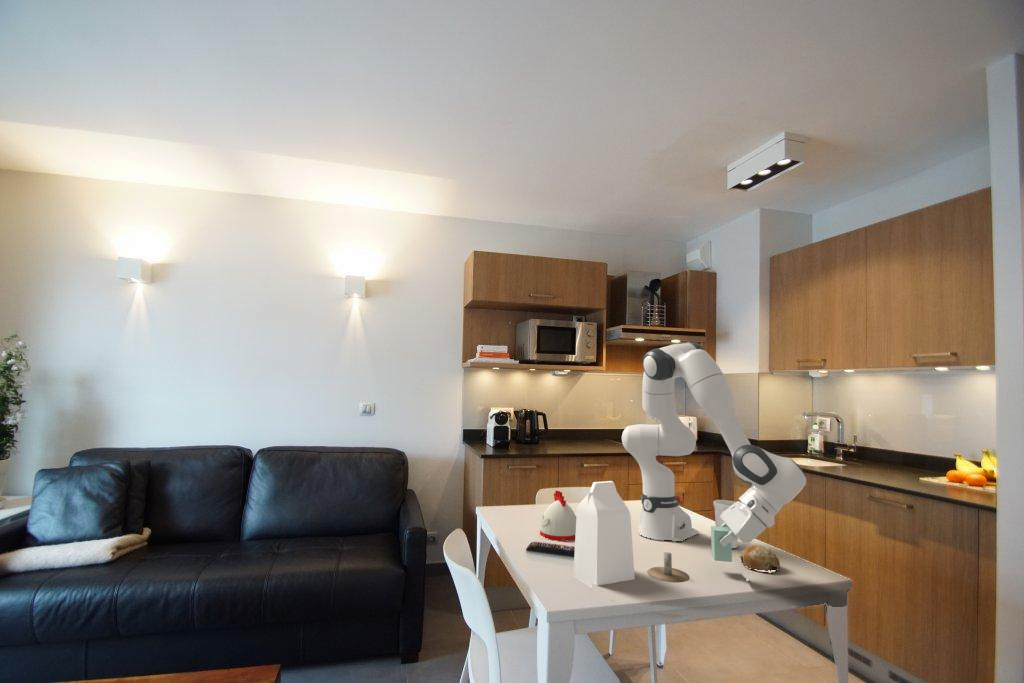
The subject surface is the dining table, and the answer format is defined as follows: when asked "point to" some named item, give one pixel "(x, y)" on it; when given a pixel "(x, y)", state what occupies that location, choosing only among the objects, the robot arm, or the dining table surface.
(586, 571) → the milk
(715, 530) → the mint rectangular pillar
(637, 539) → the dining table surface
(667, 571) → the post stand
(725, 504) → the cup
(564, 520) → the kitchen timer
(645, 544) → the dining table surface
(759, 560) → the bread roll
